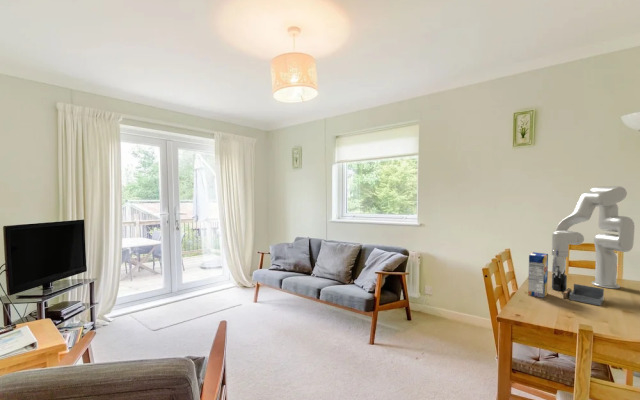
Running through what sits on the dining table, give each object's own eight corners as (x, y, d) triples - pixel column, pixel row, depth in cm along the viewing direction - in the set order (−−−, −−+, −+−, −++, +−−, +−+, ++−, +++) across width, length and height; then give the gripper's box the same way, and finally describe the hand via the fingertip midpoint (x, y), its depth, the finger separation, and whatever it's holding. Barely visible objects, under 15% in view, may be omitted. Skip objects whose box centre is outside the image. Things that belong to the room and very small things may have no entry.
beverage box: (528, 295, 170) (529, 254, 170) (532, 290, 178) (533, 252, 178) (543, 298, 166) (544, 256, 165) (547, 293, 173) (548, 253, 173)
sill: (568, 293, 173) (568, 288, 173) (570, 294, 172) (570, 288, 172) (563, 298, 165) (563, 292, 165) (566, 298, 164) (566, 293, 164)
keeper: (573, 294, 171) (574, 283, 171) (603, 300, 162) (603, 288, 162) (569, 299, 163) (569, 288, 163) (600, 305, 154) (600, 293, 154)
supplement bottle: (569, 291, 176) (569, 270, 176) (555, 291, 178) (556, 270, 177) (562, 288, 183) (562, 267, 183) (549, 287, 184) (549, 267, 184)
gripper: (555, 250, 188) (554, 278, 189) (548, 254, 177) (547, 284, 177) (571, 252, 183) (570, 281, 183) (564, 256, 171) (564, 287, 172)
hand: (559, 282), depth 180 cm, fingers open, 9 cm apart
